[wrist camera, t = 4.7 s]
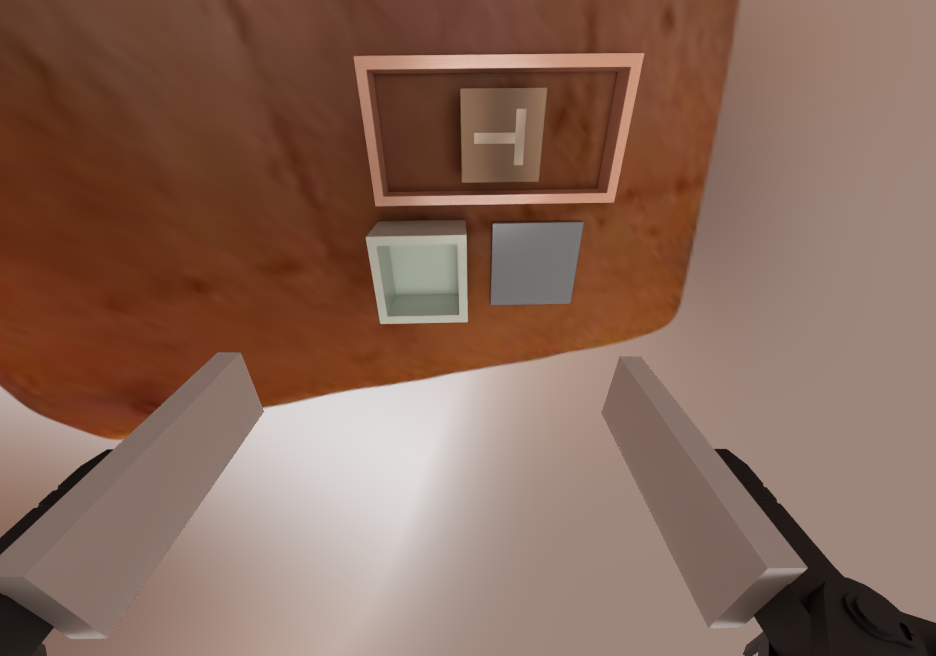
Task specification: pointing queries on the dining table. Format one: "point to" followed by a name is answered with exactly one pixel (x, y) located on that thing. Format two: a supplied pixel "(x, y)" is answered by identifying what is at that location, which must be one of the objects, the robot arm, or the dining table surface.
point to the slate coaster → (534, 261)
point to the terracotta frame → (508, 63)
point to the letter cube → (501, 134)
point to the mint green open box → (419, 270)
